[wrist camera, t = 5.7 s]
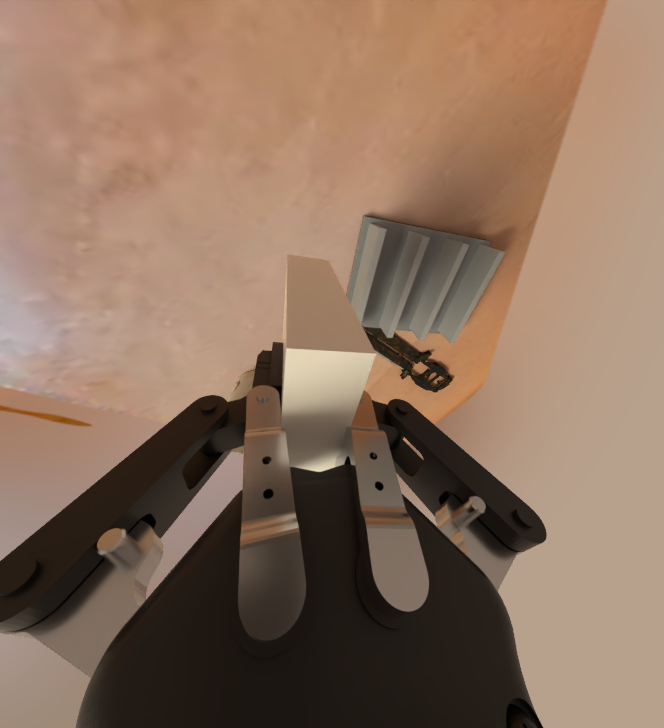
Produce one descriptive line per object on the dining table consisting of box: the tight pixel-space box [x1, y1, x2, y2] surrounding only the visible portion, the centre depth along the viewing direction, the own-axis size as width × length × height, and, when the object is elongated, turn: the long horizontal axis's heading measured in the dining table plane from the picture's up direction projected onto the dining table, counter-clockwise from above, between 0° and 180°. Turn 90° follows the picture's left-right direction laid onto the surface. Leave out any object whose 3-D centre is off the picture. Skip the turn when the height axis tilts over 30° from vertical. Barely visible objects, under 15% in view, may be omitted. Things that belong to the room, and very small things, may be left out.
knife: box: [363, 327, 452, 392], centre depth 39 cm, size 25×6×1 cm, turn 46°
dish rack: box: [346, 216, 506, 343], centre depth 30 cm, size 16×13×4 cm
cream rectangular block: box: [281, 254, 376, 472], centre depth 13 cm, size 2×9×10 cm, turn 170°
